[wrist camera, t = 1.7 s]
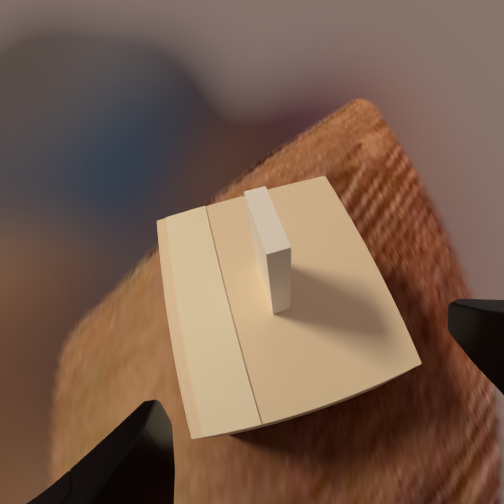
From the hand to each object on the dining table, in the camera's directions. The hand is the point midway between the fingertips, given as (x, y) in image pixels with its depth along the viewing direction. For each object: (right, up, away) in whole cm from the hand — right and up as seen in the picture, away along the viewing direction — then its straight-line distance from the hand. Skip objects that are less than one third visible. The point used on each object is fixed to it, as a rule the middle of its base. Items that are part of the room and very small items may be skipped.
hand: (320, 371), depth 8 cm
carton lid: (-1, +1, +7) cm, 7 cm away
